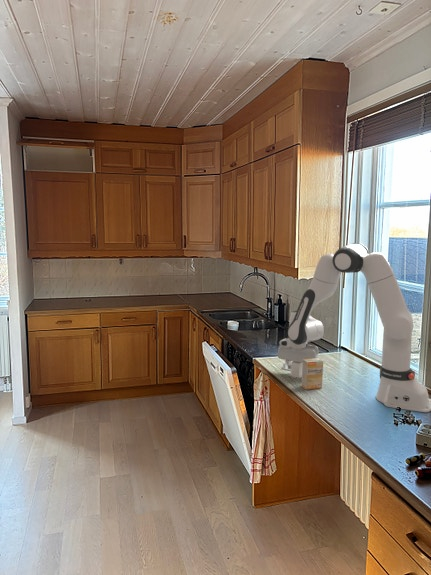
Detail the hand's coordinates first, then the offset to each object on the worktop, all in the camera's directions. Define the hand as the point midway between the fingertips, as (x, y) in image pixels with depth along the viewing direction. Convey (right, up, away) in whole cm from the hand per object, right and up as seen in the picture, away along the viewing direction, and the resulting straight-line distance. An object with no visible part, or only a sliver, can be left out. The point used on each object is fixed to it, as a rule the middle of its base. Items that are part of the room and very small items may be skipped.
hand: (297, 370), depth 219 cm
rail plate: (-1, -1, +10) cm, 10 cm away
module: (0, -3, 0) cm, 3 cm away
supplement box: (+4, -5, -15) cm, 17 cm away
